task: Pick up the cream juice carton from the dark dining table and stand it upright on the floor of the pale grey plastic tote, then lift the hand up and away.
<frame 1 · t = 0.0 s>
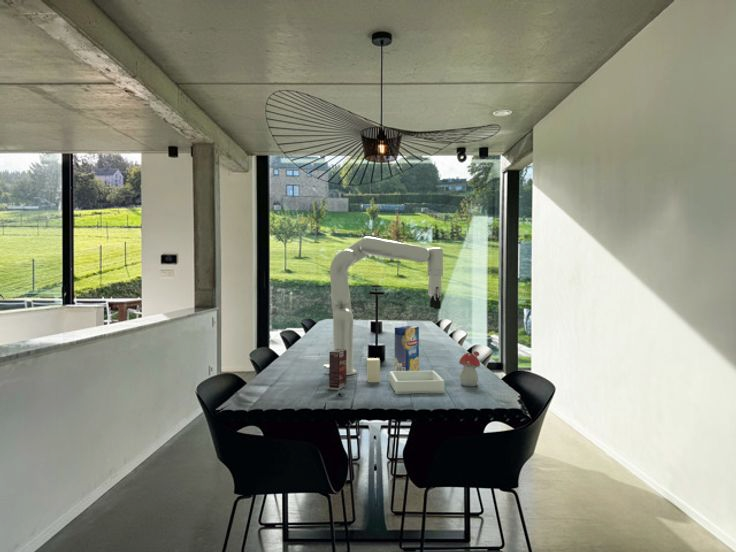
hand: (435, 308, 264), 31 cm above the table, tool pointing down, fingers open, 9 cm apart
supplement box: (338, 388, 230), on the table
blue cardboard box: (406, 372, 264), on the table
decorative ornament: (469, 385, 235), on the table
tote: (415, 387, 230), on the table
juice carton: (373, 381, 243), on the table
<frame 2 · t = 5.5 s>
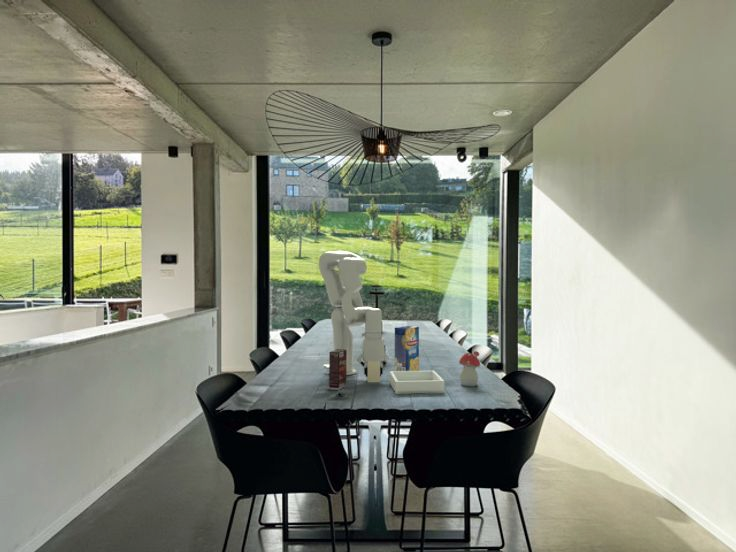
hand: (373, 375, 243), 3 cm above the table, tool pointing down, fingers closed on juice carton, 5 cm apart
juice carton: (373, 381, 243), on the table, touching gripper
everything else where it was.
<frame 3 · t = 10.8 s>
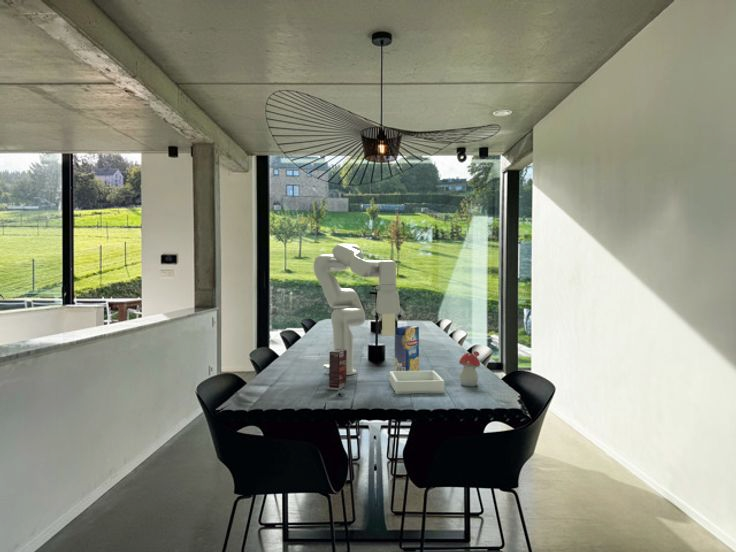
hand: (388, 329, 238), 24 cm above the table, tool pointing down, fingers closed on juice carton, 5 cm apart
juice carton: (388, 335, 238), point 21 cm above the table, touching gripper
everything else where it was.
when the fingers open (5 cm above the table, at t = 16.2 s): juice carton drops 1 cm, resting on tote.
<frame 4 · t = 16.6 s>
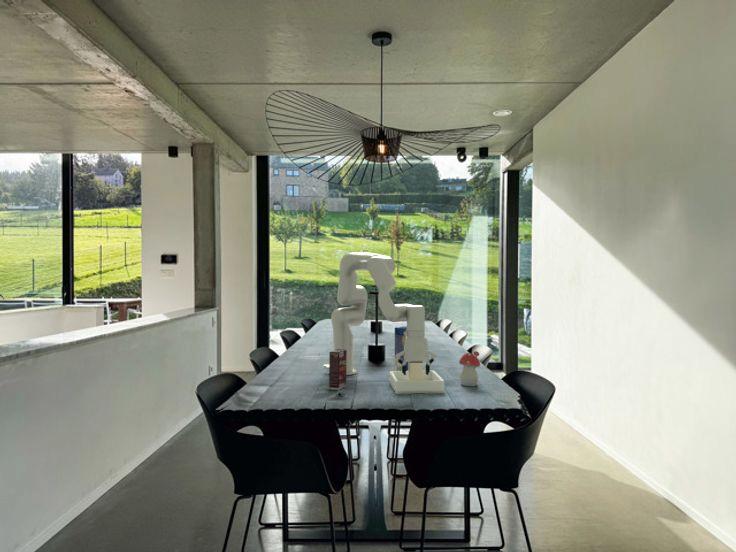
hand: (415, 374, 230), 6 cm above the table, tool pointing down, fingers open, 9 cm apart
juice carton: (415, 385, 230), point 1 cm above the table, touching tote
everything else where it was.
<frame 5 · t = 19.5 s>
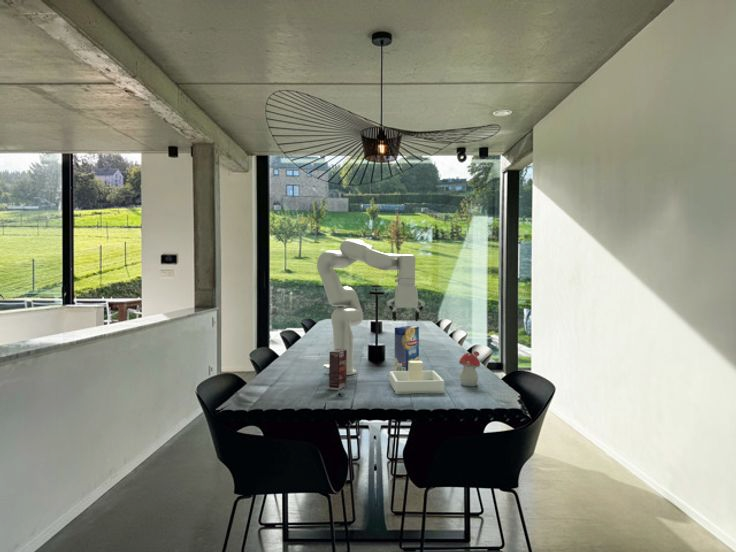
hand: (405, 320, 240), 27 cm above the table, tool pointing down, fingers open, 9 cm apart
nothing on the table moved.
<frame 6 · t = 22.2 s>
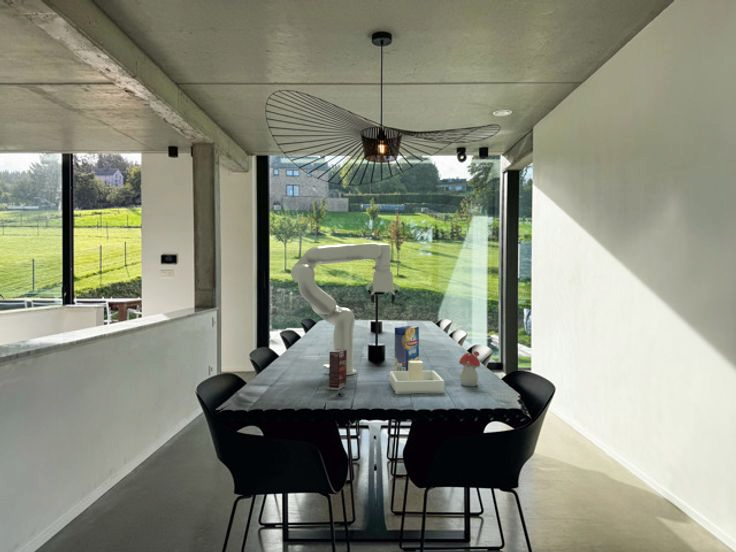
hand: (382, 302, 271), 33 cm above the table, tool pointing down, fingers open, 9 cm apart
nothing on the table moved.
at the end: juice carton inside the target area on the tote (0.0 cm from its centre), point 1.0 cm above the tote's base; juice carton tilted 0°; the gripper is holding nothing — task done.
